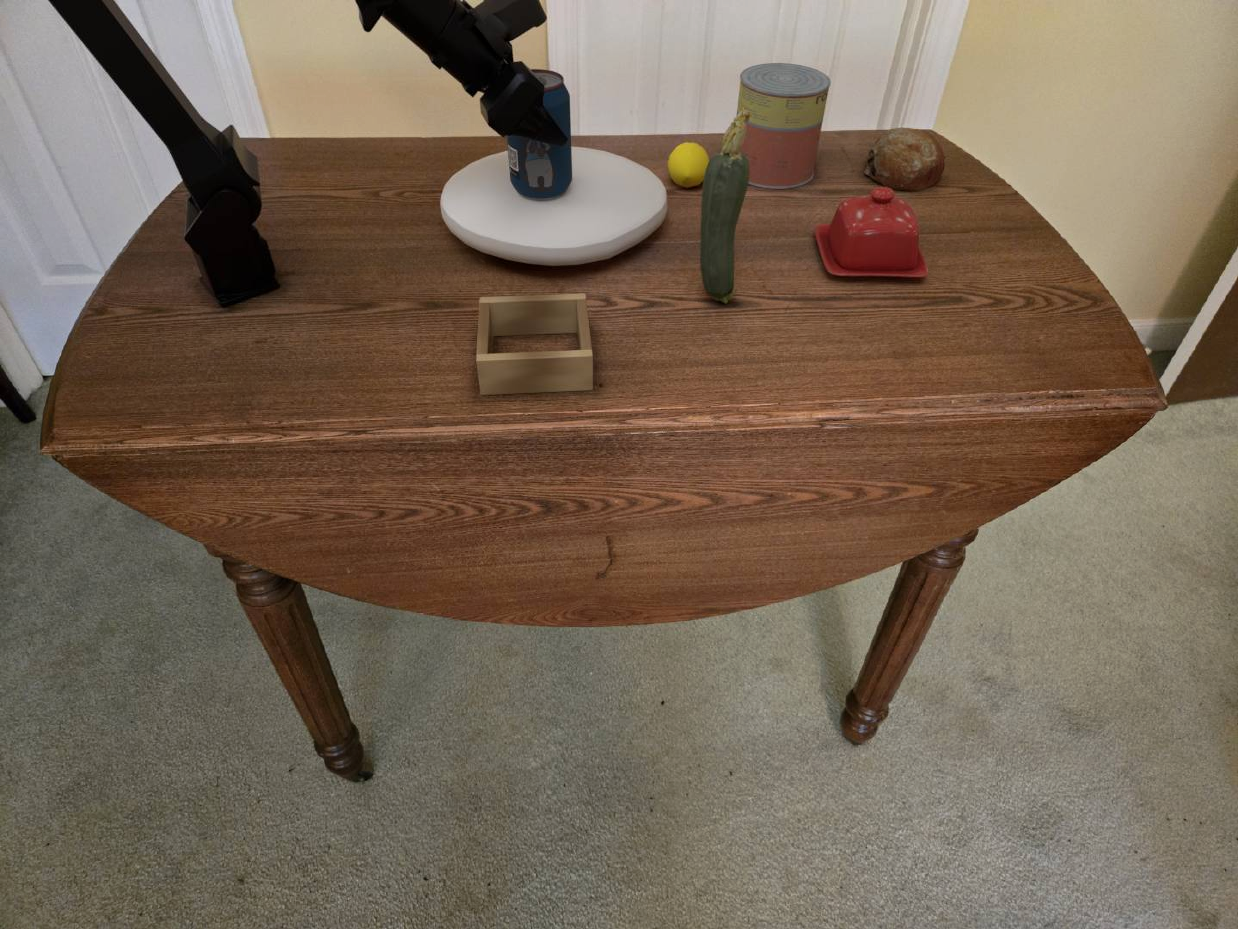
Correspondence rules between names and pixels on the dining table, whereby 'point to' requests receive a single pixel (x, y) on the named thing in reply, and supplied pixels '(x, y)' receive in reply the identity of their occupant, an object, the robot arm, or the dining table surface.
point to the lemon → (688, 164)
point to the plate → (555, 210)
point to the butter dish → (872, 238)
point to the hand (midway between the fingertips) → (552, 126)
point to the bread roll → (905, 159)
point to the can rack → (534, 367)
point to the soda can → (544, 148)
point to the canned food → (782, 122)
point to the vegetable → (723, 210)
